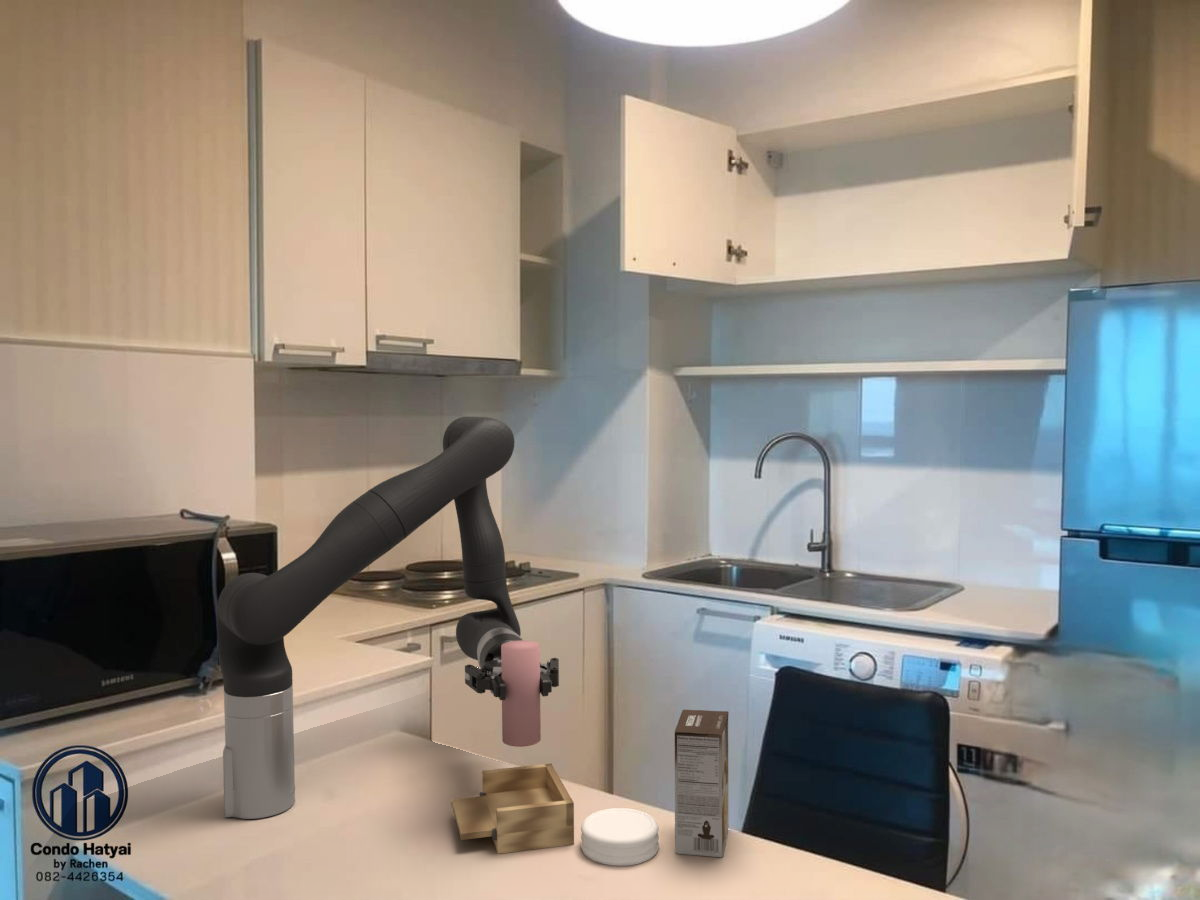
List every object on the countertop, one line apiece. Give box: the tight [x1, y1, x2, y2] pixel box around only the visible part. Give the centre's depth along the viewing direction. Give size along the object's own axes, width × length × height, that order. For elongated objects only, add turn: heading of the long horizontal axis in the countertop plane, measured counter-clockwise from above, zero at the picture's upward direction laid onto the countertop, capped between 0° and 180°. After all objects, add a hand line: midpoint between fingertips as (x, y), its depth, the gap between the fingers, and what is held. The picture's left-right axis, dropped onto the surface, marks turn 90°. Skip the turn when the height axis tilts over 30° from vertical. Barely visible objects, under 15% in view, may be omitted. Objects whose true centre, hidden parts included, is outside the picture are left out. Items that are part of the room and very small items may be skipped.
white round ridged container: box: [580, 807, 660, 867], centre depth 122 cm, size 10×10×4 cm
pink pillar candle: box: [501, 639, 542, 748], centre depth 128 cm, size 5×5×13 cm
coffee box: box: [674, 709, 729, 858], centre depth 123 cm, size 9×6×16 cm
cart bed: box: [451, 763, 575, 855], centre depth 127 cm, size 14×14×6 cm
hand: (524, 690), depth 125 cm, fingers closed on pink pillar candle, 5 cm apart
